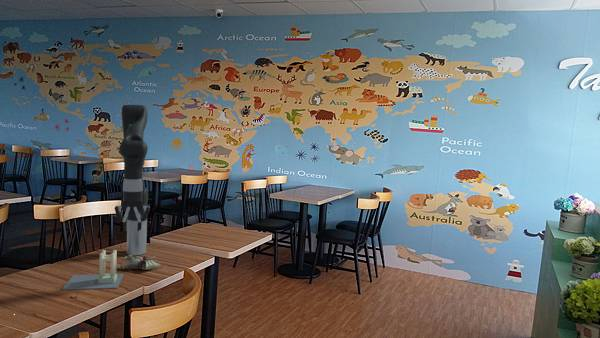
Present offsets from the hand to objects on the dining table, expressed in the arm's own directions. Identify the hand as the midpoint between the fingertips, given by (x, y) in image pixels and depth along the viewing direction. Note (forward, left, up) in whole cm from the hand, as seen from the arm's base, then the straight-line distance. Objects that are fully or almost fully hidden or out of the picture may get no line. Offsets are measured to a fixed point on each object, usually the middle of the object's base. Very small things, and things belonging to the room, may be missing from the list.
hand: (132, 230), depth 183 cm
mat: (0, -14, -21) cm, 25 cm away
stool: (0, -9, -21) cm, 23 cm away
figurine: (-17, +3, -22) cm, 28 cm away
